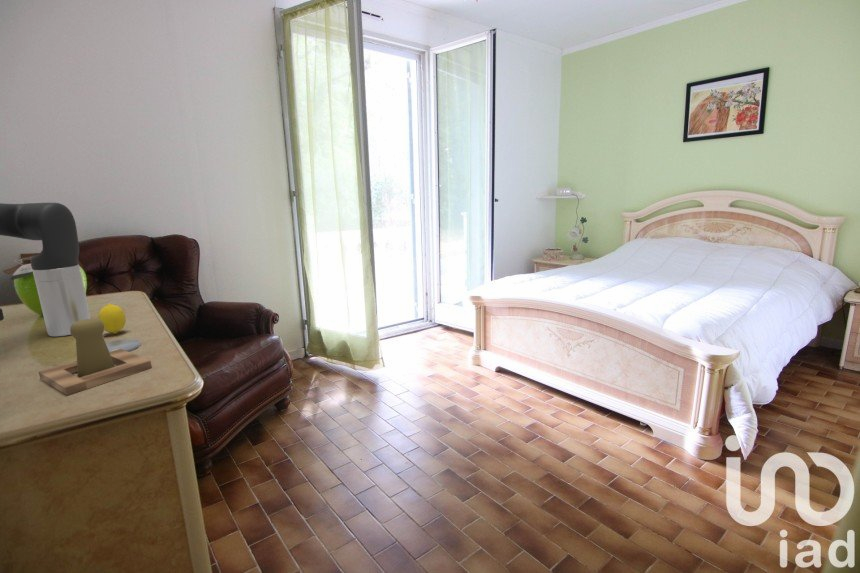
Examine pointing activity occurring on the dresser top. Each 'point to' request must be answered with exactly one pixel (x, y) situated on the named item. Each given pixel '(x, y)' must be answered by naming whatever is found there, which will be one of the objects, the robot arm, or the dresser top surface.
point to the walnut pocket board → (72, 384)
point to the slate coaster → (123, 344)
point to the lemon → (112, 318)
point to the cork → (90, 347)
